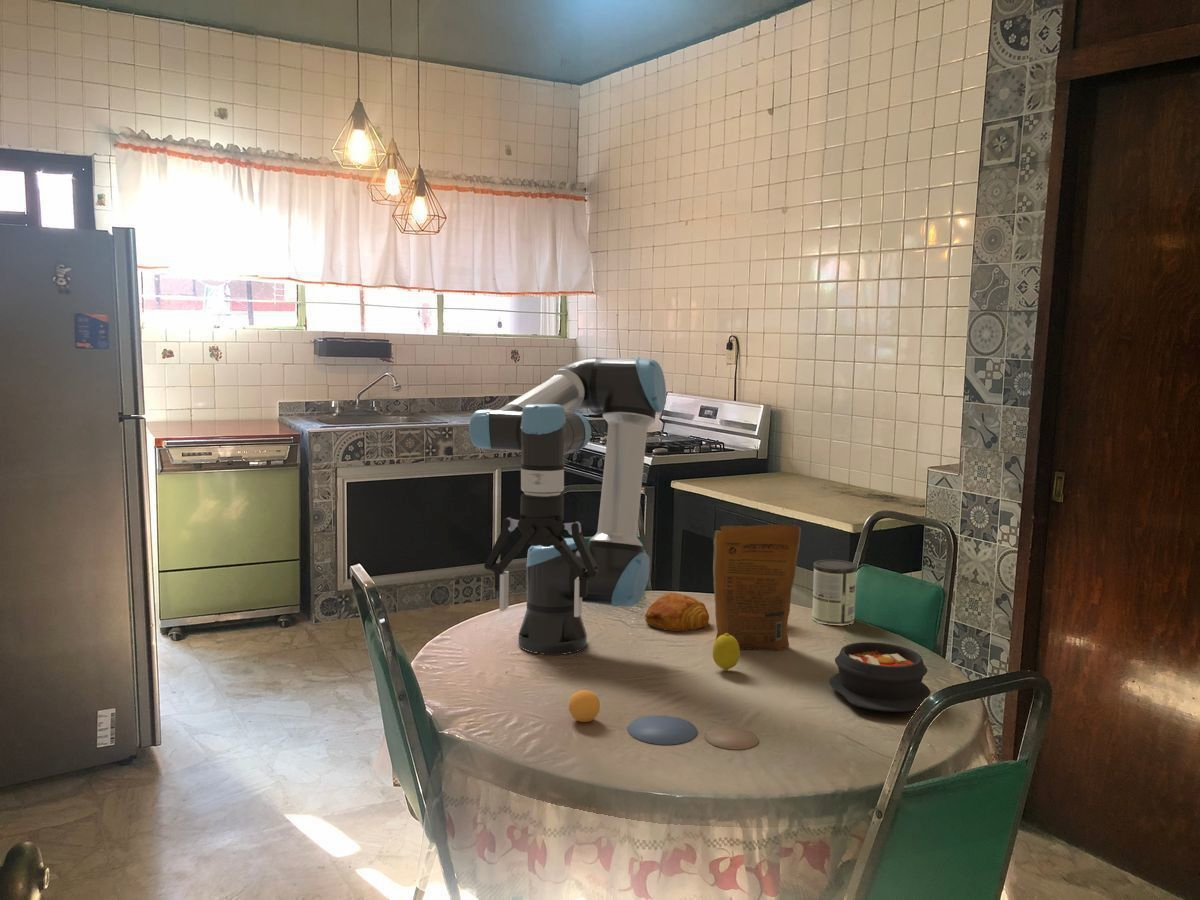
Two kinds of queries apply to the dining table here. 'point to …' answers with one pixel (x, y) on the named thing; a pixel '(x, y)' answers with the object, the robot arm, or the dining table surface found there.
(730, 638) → the lemon
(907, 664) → the casserole
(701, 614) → the croissant
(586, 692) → the ball
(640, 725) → the disc
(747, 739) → the disc
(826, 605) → the coffee can
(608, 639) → the dining table surface
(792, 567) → the pancake mix bag
